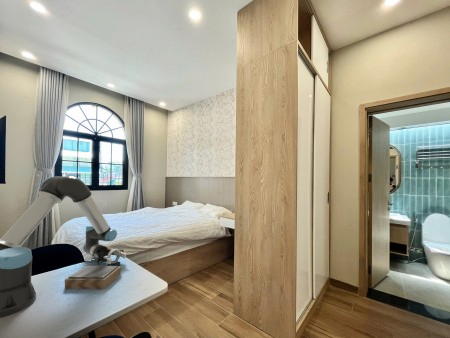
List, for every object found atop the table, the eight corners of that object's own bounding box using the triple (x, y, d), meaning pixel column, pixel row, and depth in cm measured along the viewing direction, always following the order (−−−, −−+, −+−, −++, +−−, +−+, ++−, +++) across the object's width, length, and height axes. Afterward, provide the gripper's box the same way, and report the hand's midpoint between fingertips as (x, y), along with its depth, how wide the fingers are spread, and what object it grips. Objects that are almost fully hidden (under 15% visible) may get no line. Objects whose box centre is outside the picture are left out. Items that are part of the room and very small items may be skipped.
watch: (122, 265, 120) (122, 247, 121) (112, 271, 113) (112, 252, 113) (115, 264, 122) (115, 246, 122) (104, 270, 114) (104, 251, 115)
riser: (64, 288, 96) (64, 277, 96) (86, 274, 110) (86, 264, 110) (103, 289, 95) (104, 278, 95) (120, 274, 109) (120, 265, 109)
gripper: (115, 251, 136) (134, 258, 124) (80, 262, 118) (98, 272, 106) (115, 240, 136) (134, 246, 124) (80, 250, 118) (99, 258, 106)
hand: (118, 258), depth 115 cm, fingers closed on watch, 8 cm apart
